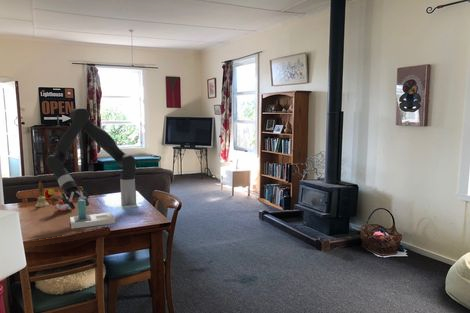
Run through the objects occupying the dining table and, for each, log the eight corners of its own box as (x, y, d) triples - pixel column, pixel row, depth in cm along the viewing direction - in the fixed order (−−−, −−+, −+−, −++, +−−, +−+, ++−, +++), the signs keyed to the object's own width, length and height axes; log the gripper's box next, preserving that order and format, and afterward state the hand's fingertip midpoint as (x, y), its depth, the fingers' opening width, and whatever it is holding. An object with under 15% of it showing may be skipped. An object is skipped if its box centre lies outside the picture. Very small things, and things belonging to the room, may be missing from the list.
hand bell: (34, 207, 234) (32, 183, 232) (35, 204, 241) (34, 181, 240) (48, 206, 237) (47, 182, 235) (49, 203, 245) (48, 180, 243)
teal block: (86, 216, 201) (85, 199, 199) (86, 218, 197) (86, 200, 196) (78, 217, 199) (77, 200, 198) (78, 219, 195) (78, 201, 194)
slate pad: (89, 215, 204) (89, 215, 204) (91, 220, 195) (91, 219, 195) (74, 217, 201) (74, 216, 201) (75, 222, 192) (75, 221, 192)
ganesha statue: (76, 213, 226) (54, 198, 210) (57, 216, 229) (35, 201, 213) (81, 195, 234) (61, 179, 218) (63, 198, 237) (42, 182, 221)
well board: (111, 217, 212) (111, 212, 211) (115, 223, 199) (115, 218, 199) (70, 222, 202) (70, 217, 201) (71, 229, 189) (71, 223, 189)
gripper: (58, 182, 195) (71, 205, 190) (81, 178, 207) (95, 200, 202) (53, 190, 198) (66, 214, 194) (76, 186, 210) (89, 208, 205)
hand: (81, 207), depth 198 cm, fingers open, 8 cm apart
